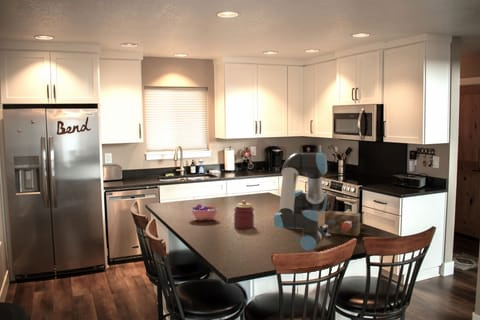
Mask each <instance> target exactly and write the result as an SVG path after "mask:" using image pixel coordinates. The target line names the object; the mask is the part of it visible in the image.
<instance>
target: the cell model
mask: <svg viewBox="0 0 480 320" xmlns="http://www.w3.org/2000/svg"><path fill="white" fill-rule="evenodd" d="M189 211H190V213H191V215H192V217H193V218H194V219H195V220H197V221H202V222H203V221H212V220H213V219H215V218H216V217H217V215H218V214H219V208H218V207H215V206H209V205H206V206H205V205H204V206H202V204H201V203H199V204H196V206H193V207H191V208H189Z"/></svg>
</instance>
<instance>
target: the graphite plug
mask: <svg viewBox="0 0 480 320" xmlns="http://www.w3.org/2000/svg"><path fill="white" fill-rule="evenodd" d="M327 223H328V225H329V226H330V227H334V226H335V225H336V223H337V222H336V219H334V218H330V219H329V220H328V222H327Z"/></svg>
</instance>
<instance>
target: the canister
mask: <svg viewBox="0 0 480 320" xmlns="http://www.w3.org/2000/svg"><path fill="white" fill-rule="evenodd" d="M253 206H254V205H253V204H252V203H250V202H247V200H244V199H243V200H242V201H241V202H238V203H236V204H235V208H234V209H233V210H234V213H233V216H234V217H233V221H234V222H233V226H234V228H235V229H236V230H237V229H238V230H251V229H254V226H255V213H254V211H255V209H254V207H253Z"/></svg>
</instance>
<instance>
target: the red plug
mask: <svg viewBox="0 0 480 320" xmlns="http://www.w3.org/2000/svg"><path fill="white" fill-rule="evenodd" d="M352 226H353V220H347V221H345V222H344V223H343V224H342V226H341V228H342V230H343V231H346V232H347V231H349V230H350V229H351V227H352Z"/></svg>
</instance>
